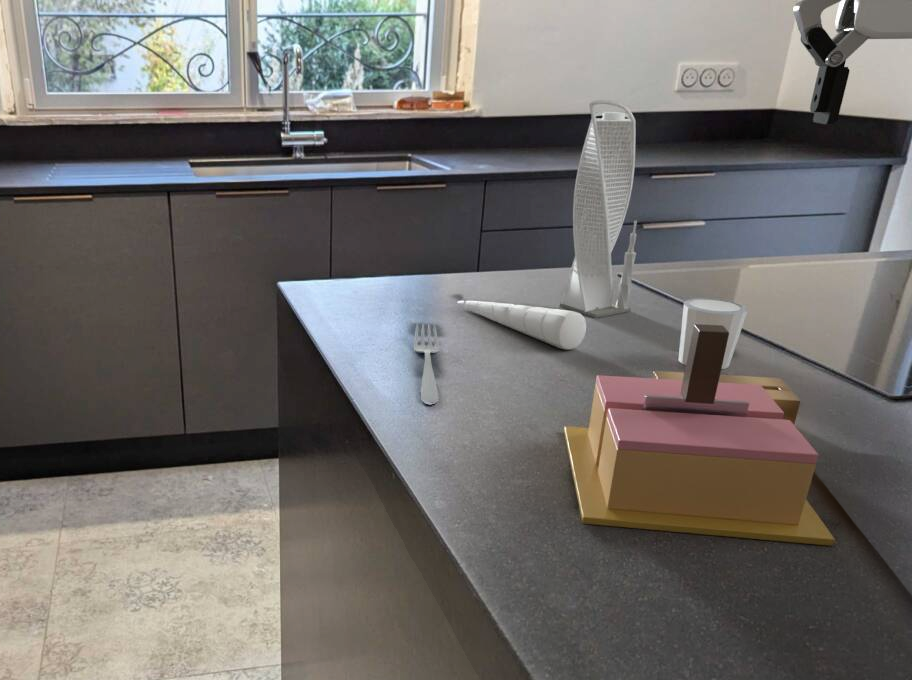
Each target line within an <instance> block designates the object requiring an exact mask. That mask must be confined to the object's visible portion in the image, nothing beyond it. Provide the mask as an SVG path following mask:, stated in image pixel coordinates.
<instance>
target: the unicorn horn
mask: <svg viewBox="0 0 912 680" xmlns="http://www.w3.org/2000/svg"><path fill="white" fill-rule="evenodd" d="M457 303H458V305H459V306H462V307H463V308H464V309H467V310H469V311H470V312H473V313H475V314H477V315H480V316H482V317H484V318H486V319H488V320H491V321H493V322H496V323H497V324H500V325H502V326H505V327H506V328H510V329H512V330H515V331H517V332H518V333H519V332H520V333H521V334H524V335H525V336H526V335H527V336H529V337H532V338H534V339H536V340H538V341H542V342H544V343H546V344H549V345H551V346H553V347H555V348H558V349H560V350H561V349H562V350H565V351H571V350H574V349H575V348H577V347H578V346H580V345H581V344H582V342H583V341H584V339H585V336H586V333H587V322H586V319H585V317H584V315H583V314H582V313H579V312H576V311H573V310H568V309H558V308H550V307H549V308H548V307H540V306H532V305H525V304H514V303H503V302H494V301H480V300H466V301H465V300H458V301H457Z"/></svg>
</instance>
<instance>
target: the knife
mask: <svg viewBox="0 0 912 680" xmlns="http://www.w3.org/2000/svg"><path fill="white" fill-rule="evenodd" d="M728 337H729V332H728V331H727V330H726V328H725V327H724V326H722V325H702V324H694V328H693V333H692V338H691V343H690V348H689V353H688V358H687V362H686V365H685V367H684V372H683V373H684V377H683V382H682V387H681V392H680V394H681V395H682V397H668V396H652V395H645V398H644V403H643V409H642V410H646V411H661V412H676V413H691V414H706V415H722V416H737V417H746V416H747V411H748V407H749V402H748V401H732V400H716V399H715V395H716V391H717V386H718V382H719V377H720V375H721V374H722V373H721V372H722V369H721V368H722V364H723V359H724V355H725V350H726V346H727V341H728Z"/></svg>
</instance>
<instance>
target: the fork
mask: <svg viewBox="0 0 912 680" xmlns="http://www.w3.org/2000/svg"><path fill="white" fill-rule="evenodd" d="M437 332H438V331H437V326H436V324H435V323H434V324H433V340H434V345H433V344H432V332H431V324H430V323H428V324H427V344H425V324H424V323H422V325H421V331H420V344H418V342H419V341H418V340H419V323H416V327H415V332H414V340H413V347H414V349H413V351H415V353H418V354H419V353H421V354H422V353H424V364H423V372H422V378H421V387H420V392H421V397H422V399H424V400H426V401H428V402H430V403H432V404H433V403H436V402H437V401H438V402H439V400H440V397H439V391H438V387H437V382H436V379H435V378H436V377H435V373H434V370H433V365H432V358H431V354H437V353H438V352H439V351H440V345H439V341H438V333H437ZM438 399H439V400H438ZM438 402H437V403H438ZM437 403H436V404H437Z"/></svg>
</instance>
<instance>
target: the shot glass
mask: <svg viewBox="0 0 912 680" xmlns="http://www.w3.org/2000/svg"><path fill="white" fill-rule="evenodd" d="M748 311H749V310H748V307H747V306H746V305H744V304H742V303H739V302H735V301H731V300H726V299H722V298H721V299H720V298H705V297H701V298H697V297H696V298H689V299H687V300H684V301H683V308H682V317H681V318H682V320H681V329H680V339H679V351H678V362H679V363H680V364H682V365H684V366H686V362H687V358H688V353H689V348H690V343H691V338H692V333H693V328H694V324H702V325H722V326H724V327H725V328H726V330H727V331H728V332H729V337H728V341H727V346H726V350H725V355H724V359H723V364H722V368H721V370H726V369H728V368H730V365H731V363H732V362H731V361H732V359H733V356H734V352H735V349H736V347H737V344H738V341H739V337H740V335H741V332H742V329H743V325H744V322H745V320H746V316H747V314H748Z"/></svg>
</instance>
